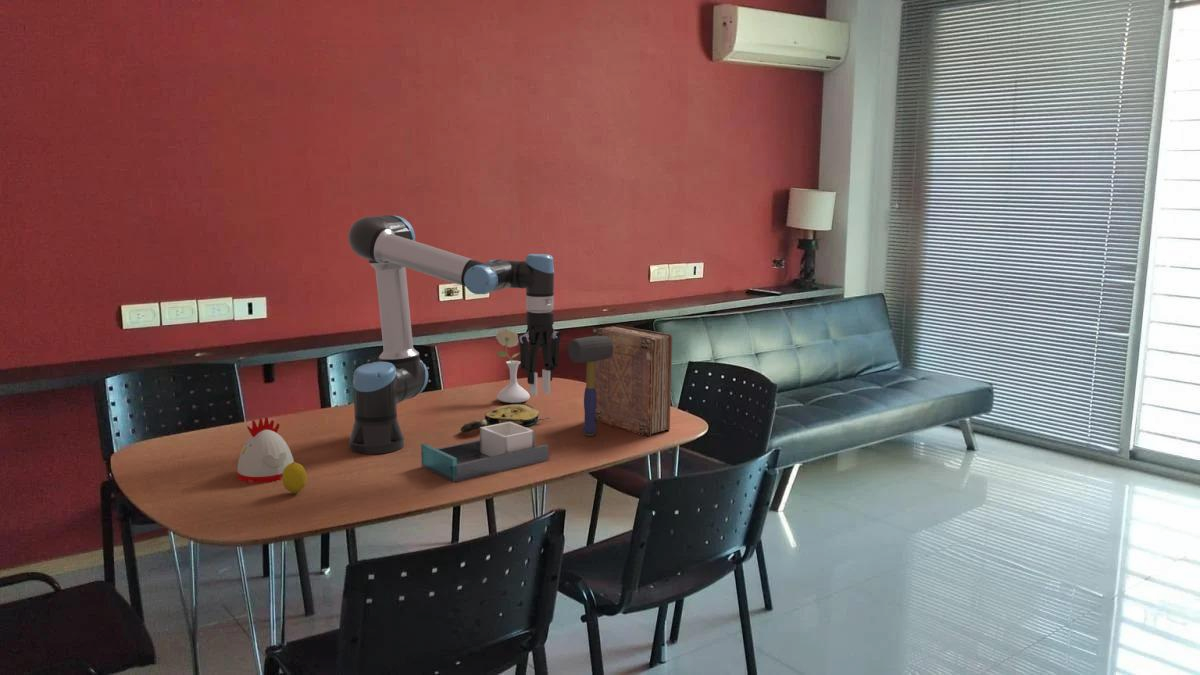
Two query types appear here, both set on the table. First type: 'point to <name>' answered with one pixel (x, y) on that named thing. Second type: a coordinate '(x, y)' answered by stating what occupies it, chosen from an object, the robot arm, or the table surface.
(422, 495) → the table surface
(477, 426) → the pulley block
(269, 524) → the table surface
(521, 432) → the crate
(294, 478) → the lemon
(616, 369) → the book
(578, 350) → the rubber mallet
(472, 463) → the bay
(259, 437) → the kitchen timer
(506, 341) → the flower in vase
